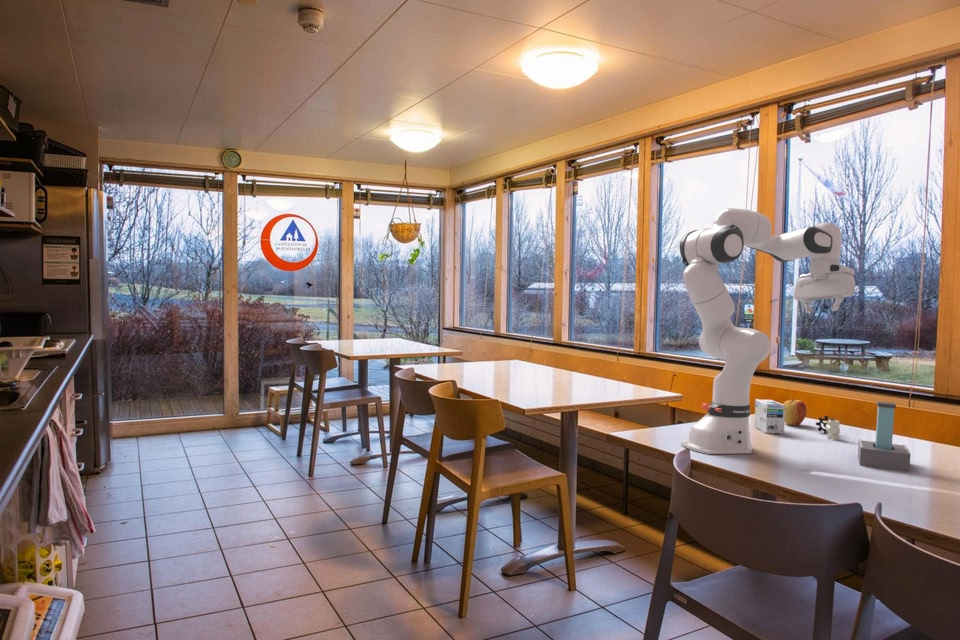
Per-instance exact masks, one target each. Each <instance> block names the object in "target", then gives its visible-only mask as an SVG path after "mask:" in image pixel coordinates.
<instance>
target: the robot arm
mask: <svg viewBox="0 0 960 640" xmlns="http://www.w3.org/2000/svg"><path fill="white" fill-rule="evenodd" d="M772 228H773V227H772V223H771V220H770V218H769V217H768V216H767V215H764V214H762V213H761V212H757V211H753V210H750V209H745V208H744V209H743V208H724V209H721V210H720V211H718V212H717V213H716V214H715V216H714V219H713V222H712V227H709V228H708V227H707V228H702V229H695V230H692V231H689V232H687V233H686V234H684V235H683V236H682V237H681V239H680V241H679V253H680V256H681V259H682V263H683V264H684V265H685V266H686V267H685V268H684V270H683V273H682V279H683V283H684V286H685V289H686V291H687V295H688V297H689V299H690V301H691V303H692V305H693V306H694V309H695V311H696V312H697V315H698V317H699V320H700V322H701V328H702V331H701V333H700V335H699V338H698V345H699V349H701V352H703V353H704V354H706V355H708V356H710V357H712V358H714V359H720V360H725V363H724V366H723V368H722V370H721V372H719V373H718V374H716V375H715V376H714V378H713V384H712V401H711V402H710V404H709V403H705V402H703V403H702V404H701V409H702V410H705V411H707V413H706V414H705V415H704V416H702V418H701V419H699V420H698V421H697V422H695V423H694V424H693V425H691V427H690V429H689V431H688V439H687V440H686V439H685V440H681V441H680V445H681V446H682V447H684V448H687V449H689V450H691V451H693V452H694V451H695V452H698V453H702V454H709V455H719V454H720V455H721V454H724V455H726V454H727V455H728V454H729V455H730V454H731V455H732V454H734V455H735V454H752V453H753V452H752V450H753V446H752V441H751V432H750V422H749V417H750V416H751V405H750V393H751V392H750V391H751V384H752V379H753V376H754V373H755V372H756V369H757V368H758V366H759V365H760V364H761V363H762V362H763V361H765V360H766V359H767V358H768V356H770V355H769V354H770V352H771V349H772V348H771V347H772V346H771V345H772V344H771V340H770V338H769V336H768V335H767V334H766V333H764V332H762V331H760V330H757V329H754V328H749V327H739V326H736V325H734V324H733V322H732V321H733V320H732V319H731V318H732V316H733V315H734V312H735V309H736V307H735V303H734V301H733V298H732V297H731V294H730V292H729V291H728V289H727V287H726V285H725V283H724V281H723V279H722V278H721V276H720V273H719V269H718V267H719V264H728V263H732V262H734V261H737V260H738V259H739V258H740V256H741V255H742V253H743V251H744V246H745V247H747V248H750V249H752V250H755V251H759V252H761V253H764V254H767V255H770V256H771V257H772V258H773V259H775V260H776V261H778V262H780V263H788V262H792V261H795V260H799V259H804V258H807V257H809V258H811V259H810V264H809V265H810V266H809V273H806V274H800V275H799V276H798V277H797V278H796V281H795V284H794V289H793V299H794V300H795V301H798V302H802V304H803V306H804V307H805V308H804V312H805V313H806V314H810V313H811V314H812V313H813V307H811V305H810V304H811V301H817V300H819V301H820V300H828V299H834V303H833V304H831V307H830V310H831V311H832V312H835V311H836V312H837V311H839V309H840V305H841V303H842V302H843V301H844V298H846V297H852V296H854V295H855V292H856V280H855V277H854V275H855V269H853V268H852V267H849V266H846V265H842V264H841V260H840V254H841V252H842V232H841V228H840V227H839V226H838V224H835V223H832V222H831V223H830V222H821V223H818V224H817V225H815V226H807V227H802V228H799V229H796V230H793V231H792V230H791V231H789V232H785V233H778V234H775V235H772V231H773V230H772Z"/></svg>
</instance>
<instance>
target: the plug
mask: <svg viewBox="0 0 960 640" xmlns="http://www.w3.org/2000/svg"><path fill="white" fill-rule="evenodd" d="M876 406H877V409H876V410H877V411H876V412H877V413H876V427H875V428H876V429H875V442H876V443H875V448H882V449H891V450H892V444H893V433H894V417H895V416H894V415H895V409H896V407H897V404H896V403H895V402H893V401H892V402H891V401H882V400H881V401H880V400H876Z"/></svg>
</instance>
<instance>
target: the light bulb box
mask: <svg viewBox="0 0 960 640" xmlns="http://www.w3.org/2000/svg"><path fill="white" fill-rule="evenodd" d="M754 405H755V406H754V407H755V408H754V409H755V410H754V428H755V427H756V428H755V429H757V428H758V429H757V430H759V429H760V430H759V431H761V432H763V433H765V434H774V433H779V435H784V434H785V422H784V419H785V405H784V404H783V403H781V402H778V401H775V400H773V399H762V398H761V399H760V398H759V399H758V398H755V403H754Z"/></svg>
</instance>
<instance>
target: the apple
mask: <svg viewBox="0 0 960 640" xmlns="http://www.w3.org/2000/svg"><path fill="white" fill-rule="evenodd" d="M782 404H784V405H785V419H784V424H786V425H788V426H799V425H801V424H802V423H803V421H804V420H805V418H806V416H807V406H806V404H805V403H804V402H803V401H801V400H798V399H794V398H792V399H789V400H786V401H784V402H783V403H782Z"/></svg>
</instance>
